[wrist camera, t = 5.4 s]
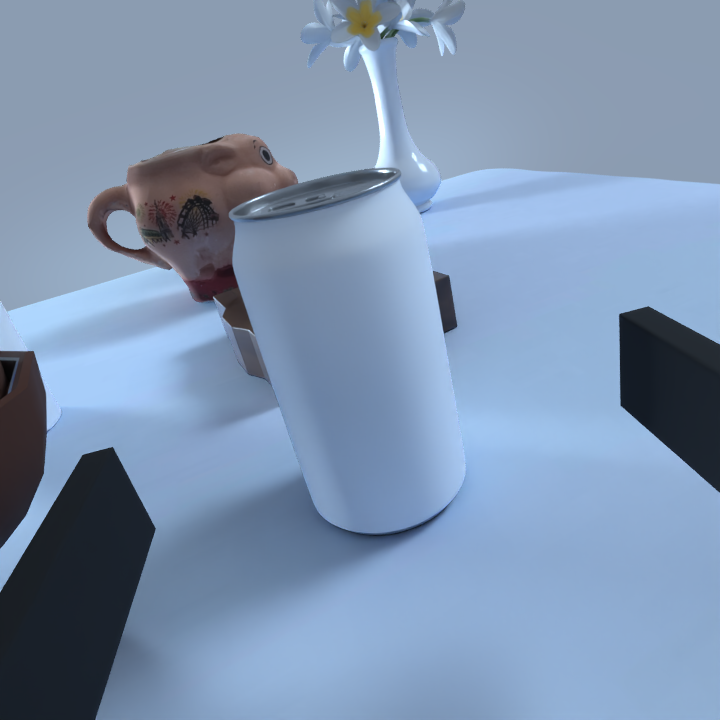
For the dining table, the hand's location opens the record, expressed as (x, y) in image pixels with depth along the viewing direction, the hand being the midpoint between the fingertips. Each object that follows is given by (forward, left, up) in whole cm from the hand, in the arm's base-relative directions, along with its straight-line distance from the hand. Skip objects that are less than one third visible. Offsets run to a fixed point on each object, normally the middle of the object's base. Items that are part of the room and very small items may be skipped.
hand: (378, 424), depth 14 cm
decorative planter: (+4, +43, -7) cm, 43 cm away
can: (+2, +6, -7) cm, 9 cm away
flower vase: (+31, +50, -7) cm, 59 cm away
